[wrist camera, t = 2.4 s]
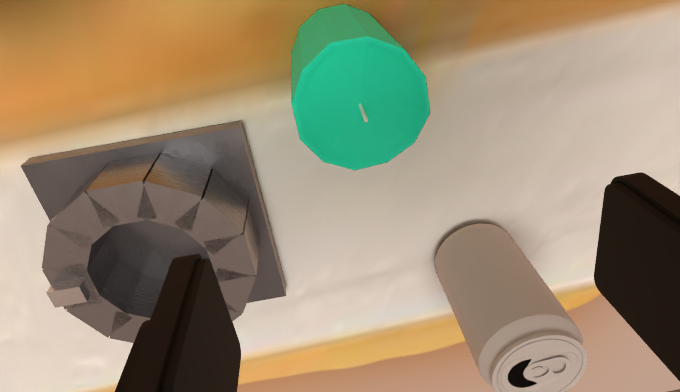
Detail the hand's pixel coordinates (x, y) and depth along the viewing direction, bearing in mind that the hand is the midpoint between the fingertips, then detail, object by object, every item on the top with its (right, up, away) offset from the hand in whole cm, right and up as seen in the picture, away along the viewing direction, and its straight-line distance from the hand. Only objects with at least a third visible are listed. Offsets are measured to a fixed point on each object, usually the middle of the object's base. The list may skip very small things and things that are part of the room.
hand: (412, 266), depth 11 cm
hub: (-14, -1, +23) cm, 27 cm away
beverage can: (+9, -3, +27) cm, 28 cm away
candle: (-2, +11, +19) cm, 22 cm away
